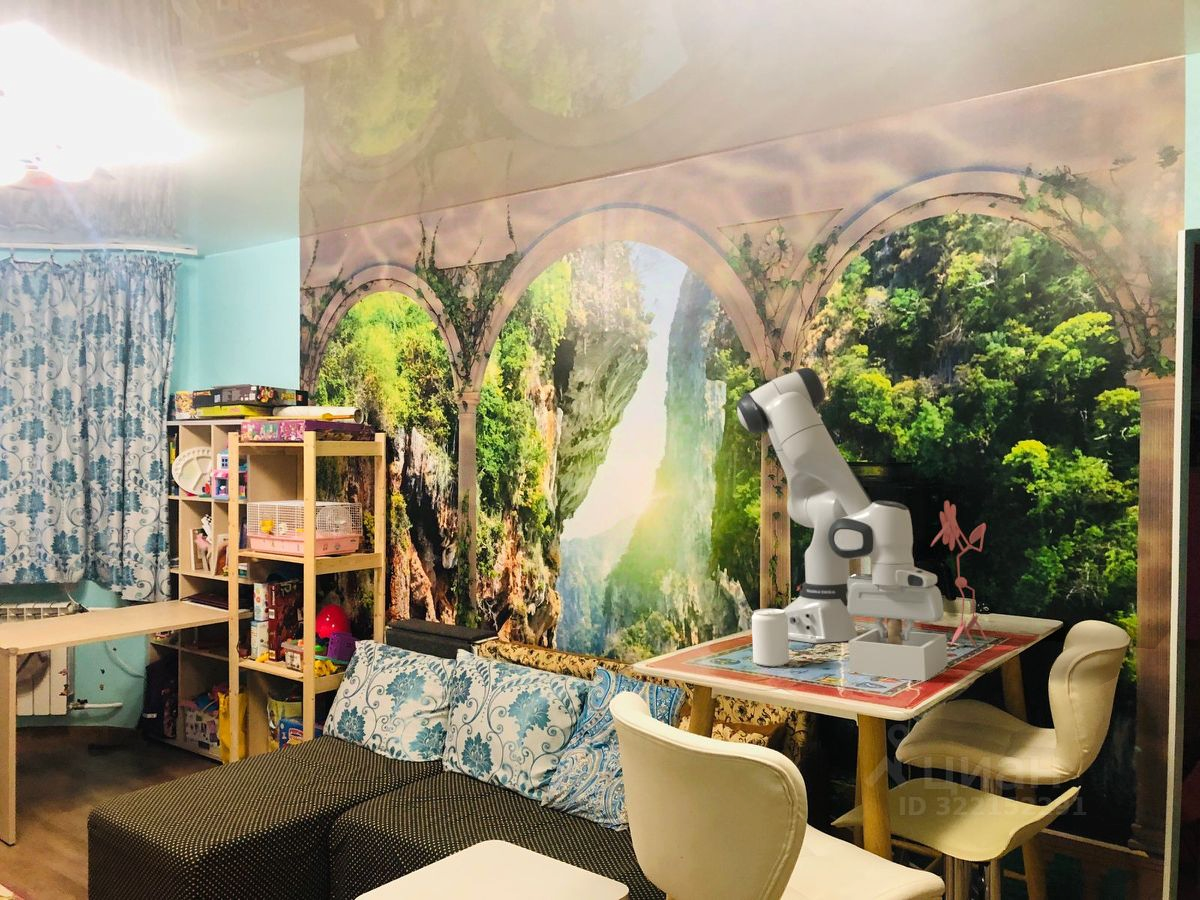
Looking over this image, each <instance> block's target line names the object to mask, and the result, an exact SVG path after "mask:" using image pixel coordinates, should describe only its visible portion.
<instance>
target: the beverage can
mask: <svg viewBox="0 0 1200 900" xmlns="http://www.w3.org/2000/svg"><path fill="white" fill-rule="evenodd" d="M751 631H752V632H751V634H752V658H753V659H752V661H753V663H755V664H757V665H758V664H759V665H758V666H760V665H764V666H763V667H765V666H778V667H781V666H780V665H783V666H785V665H786V664H788V663H790V652H789V651H790V648H789V647H790V646H789V639H788V618H787V615H786V614H785V611H784V610H783V609H780V608H760V609H756V610H753V614H752V616H751ZM784 664H785V665H784Z"/></svg>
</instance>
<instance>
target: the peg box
mask: <svg viewBox="0 0 1200 900" xmlns="http://www.w3.org/2000/svg"><path fill="white" fill-rule="evenodd" d="M902 643H903V645H895V644H888V639H884V638H881V635H880V630H879V628H873V629H871V630H869V631H866V632H865V633H864V632H863V634H861V635H858V637H856V638H854V639H852V640H848V661H849V664H848V665H849V666H848V667H849V673H850V672H857V673H867V674H875V675H882V676H888V677H895V678H905V679H913V680H919V681H920V680H921V681H926V680H927V679H929V678H930V677H932V676H933V677H935V676H936V675H938V674H939V673H941V672H942V671H943V670H945V669H946V668H947V667H946V666H948V644H947V643H948V642H947V634H945V633H933V632H921V631H912V630H911V631H910V640H908V641H905V640H902ZM945 667H946V668H945ZM944 668H945V669H944ZM942 669H943V670H942ZM941 670H942V671H941ZM938 672H939V673H938ZM937 673H938V674H937ZM935 674H936V675H935ZM934 675H935V676H934ZM933 677H932V678H933ZM929 680H930V679H929ZM926 682H927V681H926Z"/></svg>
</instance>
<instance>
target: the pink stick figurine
mask: <svg viewBox="0 0 1200 900" xmlns="http://www.w3.org/2000/svg"><path fill="white" fill-rule="evenodd" d="M943 510H944V511H940V512H939V519H940V520H939V521H940V523H941V526H942V527H941V530H940V531H939V532H938V534H937V535H936V536H935V537H934V539H933V540H932V542H931V544H930V547H933V546H934V545H935V543H937V542H938V540H939V539H940V538H941V537H942V543H943V545H947V544H948V546H949V550H950V551H951V552H952V551H953V550H954V548H955V545H956V542H957V544H958V546H959V548H960V550H961V552H960V553H958V554H957V556H956V565H957V566H956V567H957V577H956V579H955V581H954V584H955V586H956V587H958V589H959V591H960V593H961V595H962V605H961V617H960V619H961V620H960V624H959V626H958V627H957V629H956V630H955V633H954V635H953V637H952V639H951V641H950V642H951V643H950V646H953V645H954V644H955V643H956V642H957V640H958V639H959V638H960V636H961V635H962V633H963V637H966V636H967V637H968V640H969V641H970V643H971V644H972V646H973V647H974V648H976V647H977V645H976V643H975V641H974V639H973V638H972V637H971V634H970V631H971V630H972V629H973V627H974V626H975V625H976V626H977V628H978V630H979V631H980V633H981V635H982V638H984V640H985V641H987V640H988V638H987V636H986V634H985V633H984V631H983V629H982V628H981V626H980V625H981V624H979V621H978V618H979V615H977V614H976V615H975V592H976V591H975V589H973V588H972V587H970V586H968V580H967V579H966V578H965V577H963V576H960V573H961V572H960V557H961V556H962V555H963V554H964V553H966V552H968V551H969V550H971V549H973V550H974V551H975V550H976V551H977V552H979V553H980V552H982V549H983V543H984V536H985V532H986V531H987V529H986V528H987V526H986V525H987V524H986V523H985V522H983V523H982V524H980V525H978V526H977V527H976V528H974V529H973V531H972V532H971V534H970V536H969V539H967V538H966V536H965V535H964V533H963V532H962V531H961V529H960V527H959V525H958V522H957V518H956V515H957V507H956V505H955V504H951V505H950V501H949V500H945V501H944V503H943ZM960 536H961V537H962V539H963V540H964V543H966V547H965V548H964V546H963V545H962V543H961V541H960V540H959V537H960ZM979 539H980V545H979V548H978V547H975V546H973V545H972V544H974V543H976V542H977V541H978V540H979ZM968 540H969V541H968ZM965 587H966V588H968V589H970V590H972V617H971V619H970V621H969V622H968V623H967V624H966V622H967V621H966V620H964V609H965V595H964V591H963V590H962V589H963V588H965ZM963 631H964V632H963ZM990 635H991V636H993V635H994V636H997V633H995V634H994V633H991V634H990Z"/></svg>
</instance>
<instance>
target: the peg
mask: <svg viewBox="0 0 1200 900" xmlns="http://www.w3.org/2000/svg"><path fill="white" fill-rule="evenodd" d="M902 621H903V620H902V619H889V618H886V622H887V623H886V624H887V628H886V629H887V630H888V644H895V645H903V643H902V640H901V639H900V637H901V636H900V632H902V631H903V622H902Z"/></svg>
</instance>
